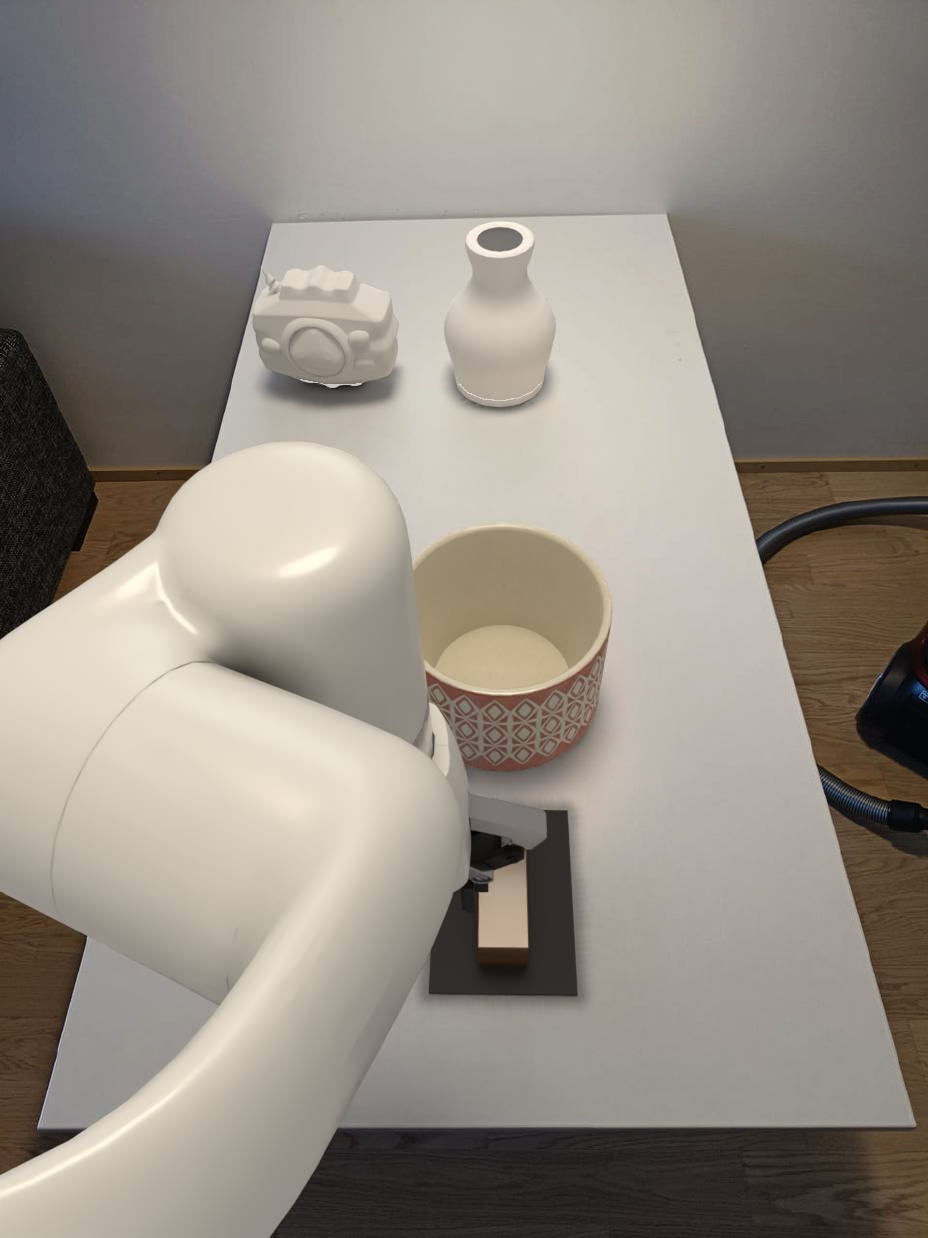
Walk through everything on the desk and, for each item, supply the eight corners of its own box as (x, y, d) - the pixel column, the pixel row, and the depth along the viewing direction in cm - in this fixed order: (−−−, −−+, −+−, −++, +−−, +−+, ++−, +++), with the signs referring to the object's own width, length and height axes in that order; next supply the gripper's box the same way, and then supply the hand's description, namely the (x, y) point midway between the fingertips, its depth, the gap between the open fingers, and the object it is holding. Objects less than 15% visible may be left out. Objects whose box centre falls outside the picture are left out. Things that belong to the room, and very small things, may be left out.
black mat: (577, 995, 71) (577, 994, 71) (429, 993, 72) (428, 992, 71) (567, 811, 81) (567, 810, 81) (436, 810, 81) (436, 809, 81)
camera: (282, 352, 124) (257, 246, 111) (408, 360, 122) (397, 253, 109) (260, 403, 117) (231, 296, 105) (392, 413, 115) (379, 304, 103)
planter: (607, 776, 83) (625, 691, 71) (403, 782, 83) (388, 698, 71) (587, 614, 94) (600, 518, 83) (408, 619, 95) (395, 524, 83)
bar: (527, 967, 72) (529, 948, 68) (478, 966, 73) (477, 948, 69) (524, 829, 80) (525, 805, 76) (480, 829, 80) (479, 805, 76)
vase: (556, 411, 114) (565, 269, 98) (446, 414, 115) (437, 273, 99) (549, 344, 123) (557, 204, 107) (447, 347, 123) (440, 207, 108)
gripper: (92, 815, 33) (212, 954, 46) (561, 818, 32) (542, 958, 46) (141, 649, 37) (237, 820, 51) (552, 649, 37) (538, 822, 50)
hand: (381, 885), depth 48 cm, fingers open, 9 cm apart
